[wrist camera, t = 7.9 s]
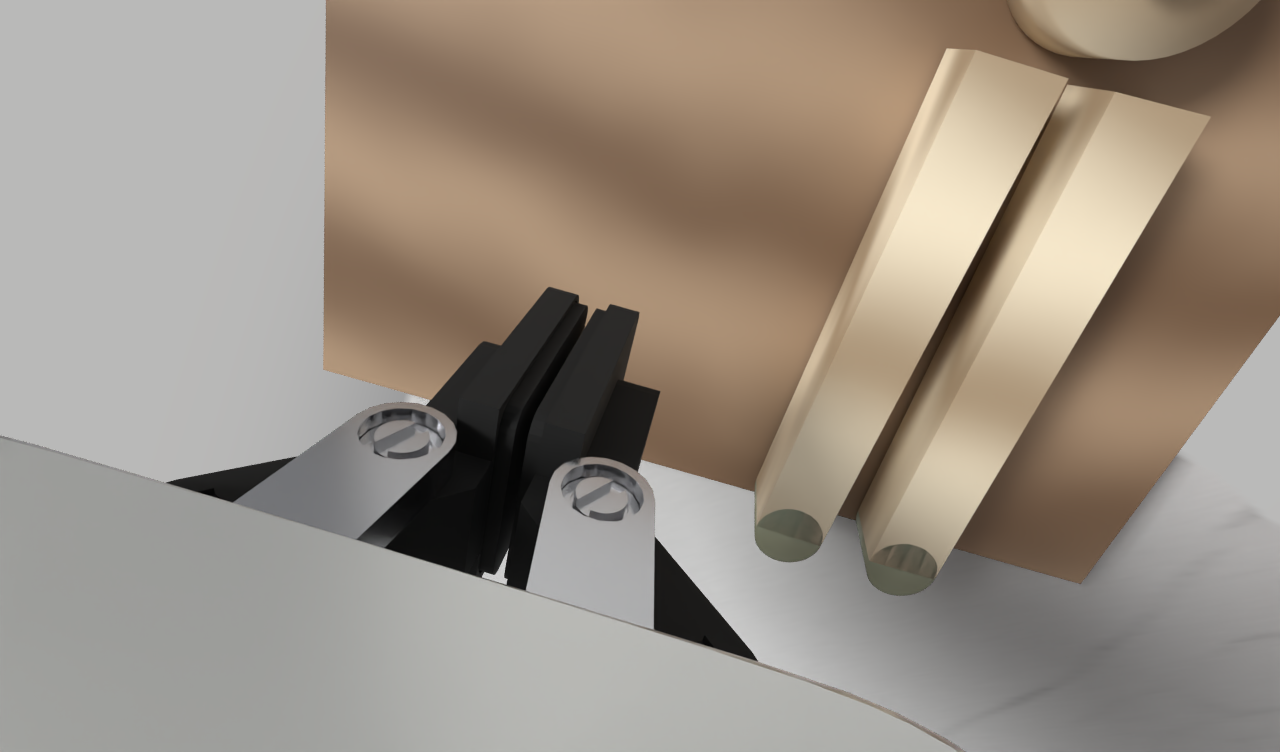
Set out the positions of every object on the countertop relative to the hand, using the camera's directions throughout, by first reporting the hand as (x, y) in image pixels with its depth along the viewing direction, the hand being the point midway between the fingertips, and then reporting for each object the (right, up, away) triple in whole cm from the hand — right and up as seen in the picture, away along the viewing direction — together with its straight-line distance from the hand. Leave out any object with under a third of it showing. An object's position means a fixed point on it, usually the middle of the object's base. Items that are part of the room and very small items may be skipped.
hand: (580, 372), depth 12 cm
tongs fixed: (+9, +2, +5) cm, 11 cm away
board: (+5, +5, +6) cm, 9 cm away
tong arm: (+9, +3, +4) cm, 10 cm away
